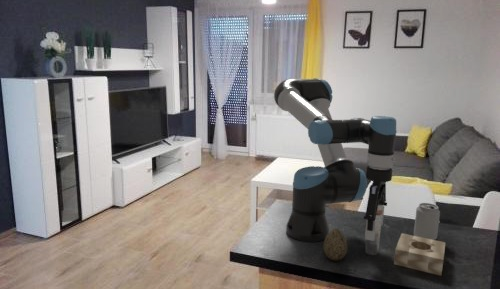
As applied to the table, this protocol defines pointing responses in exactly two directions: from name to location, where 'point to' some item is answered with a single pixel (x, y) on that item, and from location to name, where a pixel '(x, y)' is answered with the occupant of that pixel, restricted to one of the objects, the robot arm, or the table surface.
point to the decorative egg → (335, 245)
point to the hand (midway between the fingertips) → (374, 231)
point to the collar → (420, 254)
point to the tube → (371, 245)
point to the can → (427, 221)
